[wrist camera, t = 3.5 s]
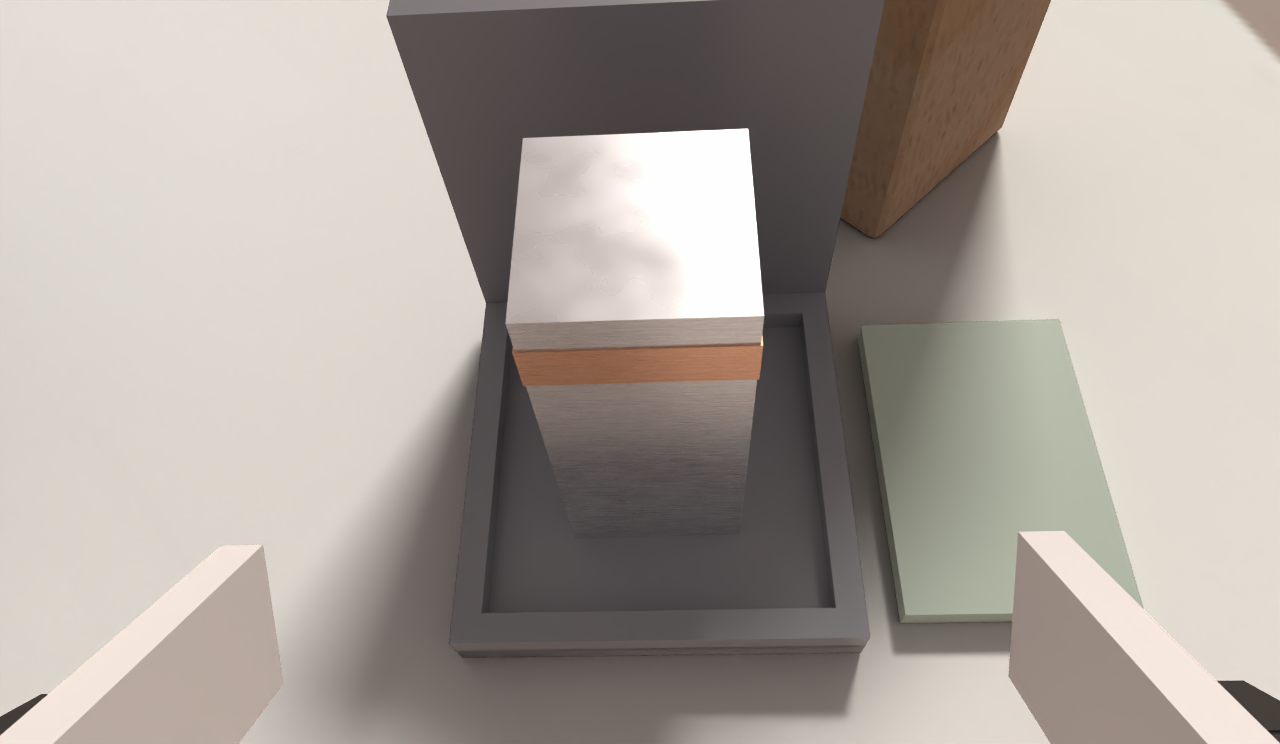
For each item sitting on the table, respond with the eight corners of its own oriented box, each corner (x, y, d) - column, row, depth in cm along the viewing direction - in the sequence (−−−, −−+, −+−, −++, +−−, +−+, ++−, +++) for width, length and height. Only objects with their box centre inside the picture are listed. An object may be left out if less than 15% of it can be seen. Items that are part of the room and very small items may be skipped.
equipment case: (462, 657, 32) (285, 465, 18) (497, 307, 40) (392, -11, 26) (860, 652, 31) (987, 448, 18) (816, 297, 39) (880, -36, 25)
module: (574, 539, 33) (503, 325, 21) (579, 394, 36) (520, 136, 24) (741, 536, 33) (766, 317, 21) (732, 390, 36) (749, 127, 24)
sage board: (899, 622, 32) (905, 614, 31) (857, 338, 38) (861, 325, 37) (1132, 619, 31) (1144, 611, 30) (1050, 332, 37) (1059, 319, 37)
